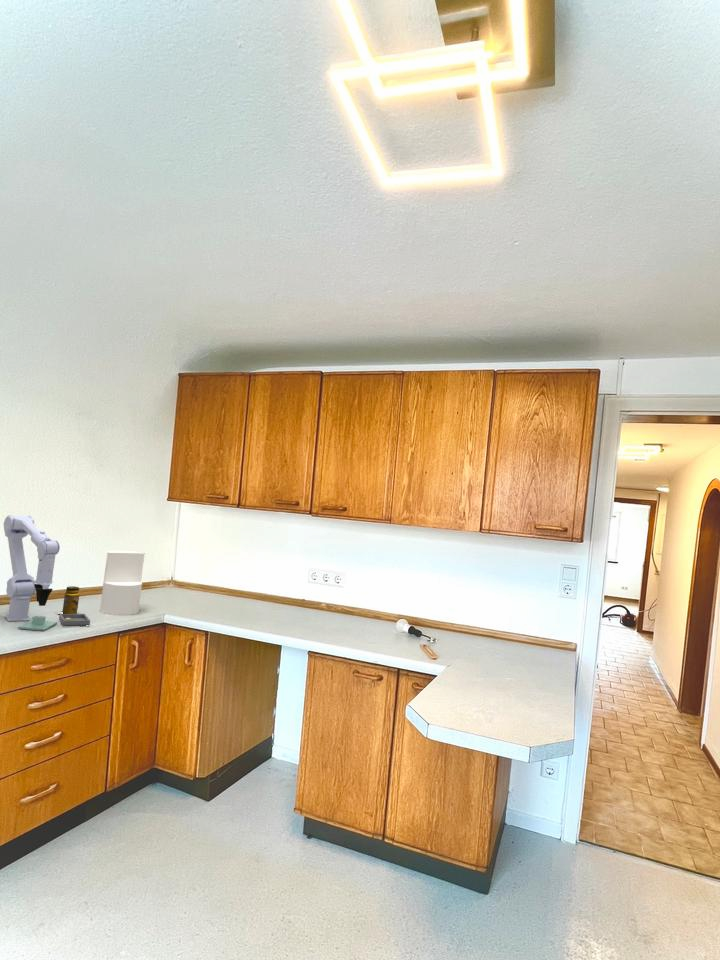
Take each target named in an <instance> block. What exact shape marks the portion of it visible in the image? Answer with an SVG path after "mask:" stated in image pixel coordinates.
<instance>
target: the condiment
mask: <svg viewBox="0 0 720 960" xmlns="http://www.w3.org/2000/svg"><path fill="white" fill-rule="evenodd" d="M79 600H80V587H79V586H75V585H74V586H72V585H71V586H67V587H66V590H65V593H64V596H63V604H62V611H61V612H63V614H77V613H78V608H79Z"/></svg>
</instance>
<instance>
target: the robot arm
mask: <svg viewBox="0 0 720 960" xmlns="http://www.w3.org/2000/svg"><path fill="white" fill-rule="evenodd" d="M3 530H4V536H5V537H6V538H7V542H8V543H7V544H8V549H9V557H10V562H11V570H12V576H11V577H10V578H8V580H7V581H6V590H5V592H6V595H7V596H8V598H9V599H10V601H9V605H8V607H9V608H8V613H7V614H5V617H6V621H7V622H25V621H27V622H29V621H31V620H30V617H29V612H30V611H29V610H30V603H31V599H32V598H33V596H34V595H35V594H36V596H35V597H36V598H35V599H36V602H38V606H40V607H45V606H46V605H47V601H48V598H49V597H50V595H51V593H52V592H53V590H54V589H53V588H49V587H50V585H51V584H53V577H54V576H53V575H54V569H55V562H56V561H55V560H56V555H58V554H59V552H60V543H59V541H58V540H54V539H51V538H50V537H49V536H48V535H47V534H46V532H45V531H44V530H39V529H38V527H37V526H36V525H35V519H34V517H33V516H31V515H11V514H10V515H7V516H6V517H5V518H4V520H3ZM28 535H29V536H30V541H31V543H33V544H34V546H35V547H36V549H37V550H36V551H37V559H38V562H37V563H38V564H37V571H36V577H35V579H34V577H33V576H32V575H30V574H29V573H28V570H27V563H26V557H25V551H24V544H23V538H26V537H27V536H28Z"/></svg>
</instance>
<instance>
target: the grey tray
mask: <svg viewBox="0 0 720 960" xmlns="http://www.w3.org/2000/svg"><path fill="white" fill-rule="evenodd" d="M58 616H59V617H58V621H59V620H60V621H59V622H61V623H60V625H61V626H62V625H63V626H80V627H87V626H86V625H91V619H90V618H89V617H88V615H86V614H85V613H78V614H60V615H58ZM63 626H62V627H63Z"/></svg>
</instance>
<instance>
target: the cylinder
mask: <svg viewBox="0 0 720 960" xmlns="http://www.w3.org/2000/svg"><path fill="white" fill-rule="evenodd" d="M144 561H145V553H144V552H140V551H134V550H118V549H117V550H115V549H113V550H108V551H107V553H106V561H105V569H104V576H103V584H102V592H101V598H100V606H99V607H100V608H99V612H100V613H103V614H104V615H105V614H106V615H113V616H130V615H136V614H138V613H139V612H140V611H139V610H140V602H141V596H142V595H141V594H142V586H143V582H142V575H143V570H144Z"/></svg>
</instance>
